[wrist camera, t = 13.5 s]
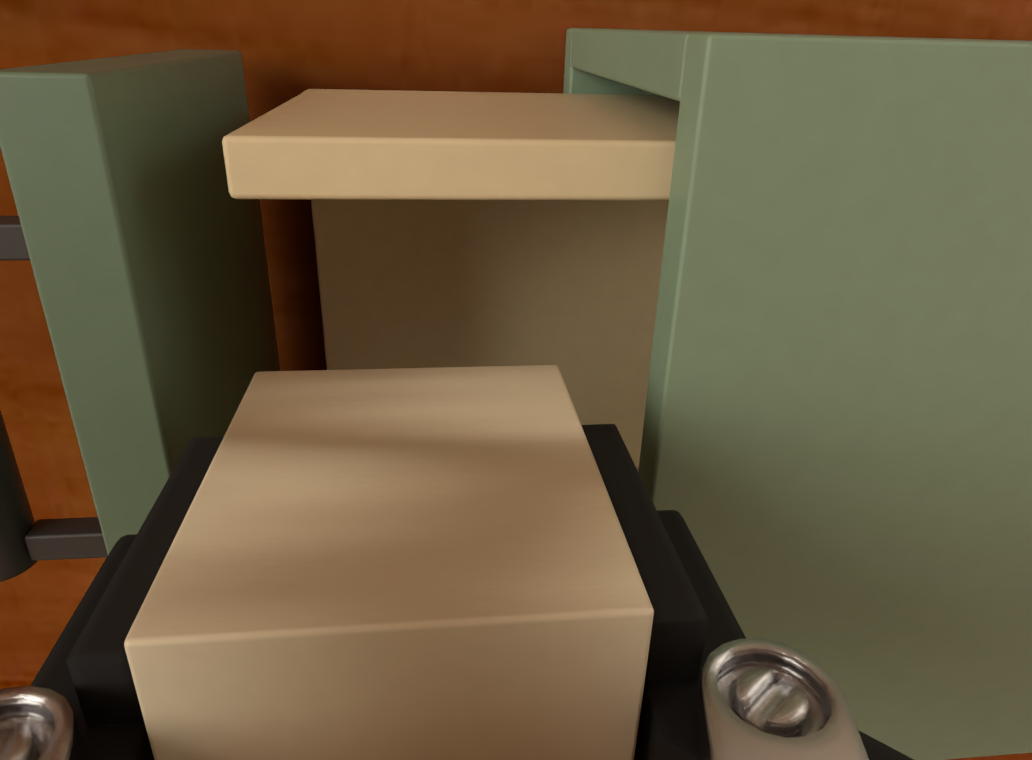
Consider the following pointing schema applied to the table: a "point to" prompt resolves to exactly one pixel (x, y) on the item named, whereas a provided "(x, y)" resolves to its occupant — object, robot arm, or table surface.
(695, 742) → the robot arm
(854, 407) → the cabinet
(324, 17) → the table surface
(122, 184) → the drawer
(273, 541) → the block
